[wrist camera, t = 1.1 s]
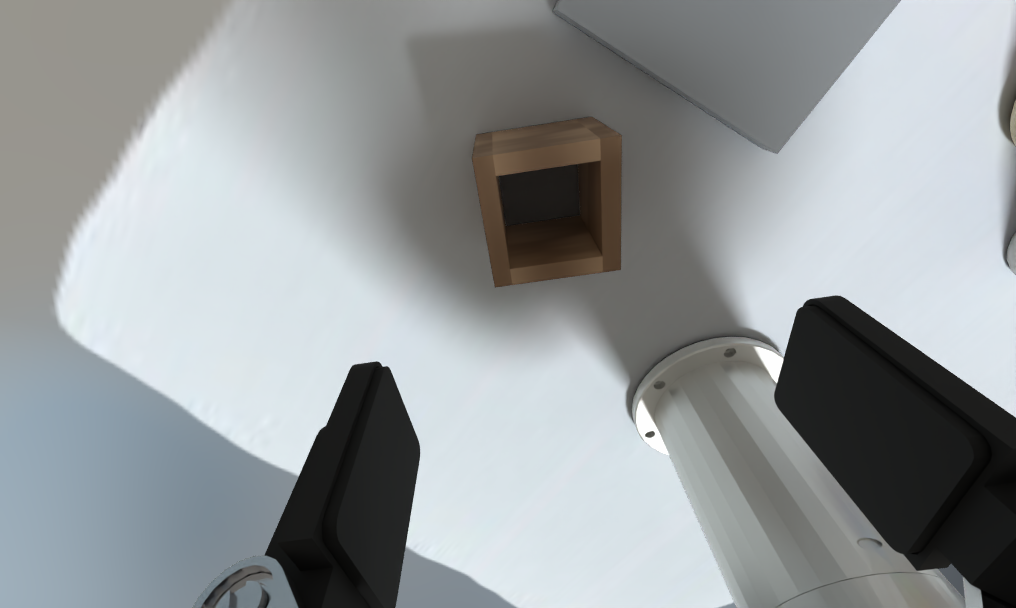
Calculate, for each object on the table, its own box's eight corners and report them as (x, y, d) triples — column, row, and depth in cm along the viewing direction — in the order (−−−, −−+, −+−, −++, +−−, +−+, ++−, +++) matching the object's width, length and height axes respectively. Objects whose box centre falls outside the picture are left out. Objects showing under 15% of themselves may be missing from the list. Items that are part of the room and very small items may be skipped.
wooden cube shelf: (591, 116, 22) (621, 135, 17) (594, 226, 26) (620, 269, 21) (476, 134, 23) (472, 158, 18) (494, 241, 26) (495, 287, 21)
